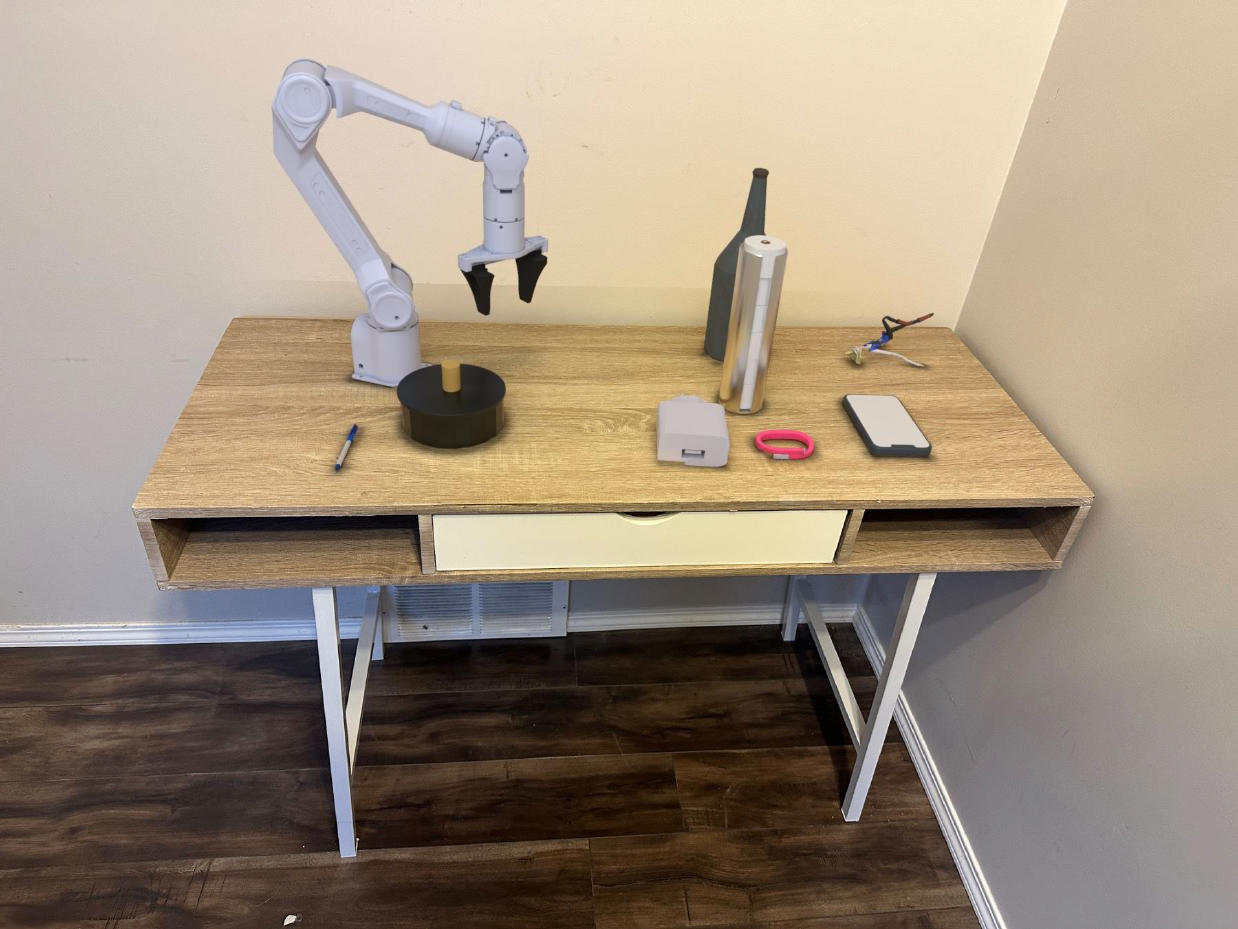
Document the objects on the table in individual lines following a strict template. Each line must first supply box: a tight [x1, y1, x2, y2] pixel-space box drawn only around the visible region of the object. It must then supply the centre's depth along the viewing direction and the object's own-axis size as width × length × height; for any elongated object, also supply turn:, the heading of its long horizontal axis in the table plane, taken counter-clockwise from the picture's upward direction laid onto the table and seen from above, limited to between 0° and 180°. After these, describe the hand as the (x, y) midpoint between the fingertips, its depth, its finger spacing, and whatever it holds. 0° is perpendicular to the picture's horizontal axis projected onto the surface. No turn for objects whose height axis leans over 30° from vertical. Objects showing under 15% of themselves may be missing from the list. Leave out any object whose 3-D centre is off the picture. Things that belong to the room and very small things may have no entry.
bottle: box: [703, 167, 770, 363], centre depth 140 cm, size 10×10×30 cm
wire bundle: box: [844, 312, 935, 368], centre depth 150 cm, size 10×9×20 cm
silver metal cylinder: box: [718, 235, 789, 415], centre depth 127 cm, size 6×6×25 cm
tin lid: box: [396, 359, 507, 418], centre depth 120 cm, size 14×14×5 cm
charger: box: [655, 392, 731, 468], centre depth 124 cm, size 5×9×15 cm
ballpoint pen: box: [334, 423, 359, 471], centre depth 117 cm, size 10×1×1 cm, turn 2°
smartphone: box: [842, 393, 933, 457], centre depth 130 cm, size 9×2×16 cm
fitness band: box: [754, 429, 815, 460], centre depth 124 cm, size 8×6×2 cm
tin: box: [400, 398, 505, 450], centre depth 123 cm, size 14×14×5 cm
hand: (504, 306), depth 133 cm, fingers open, 7 cm apart
